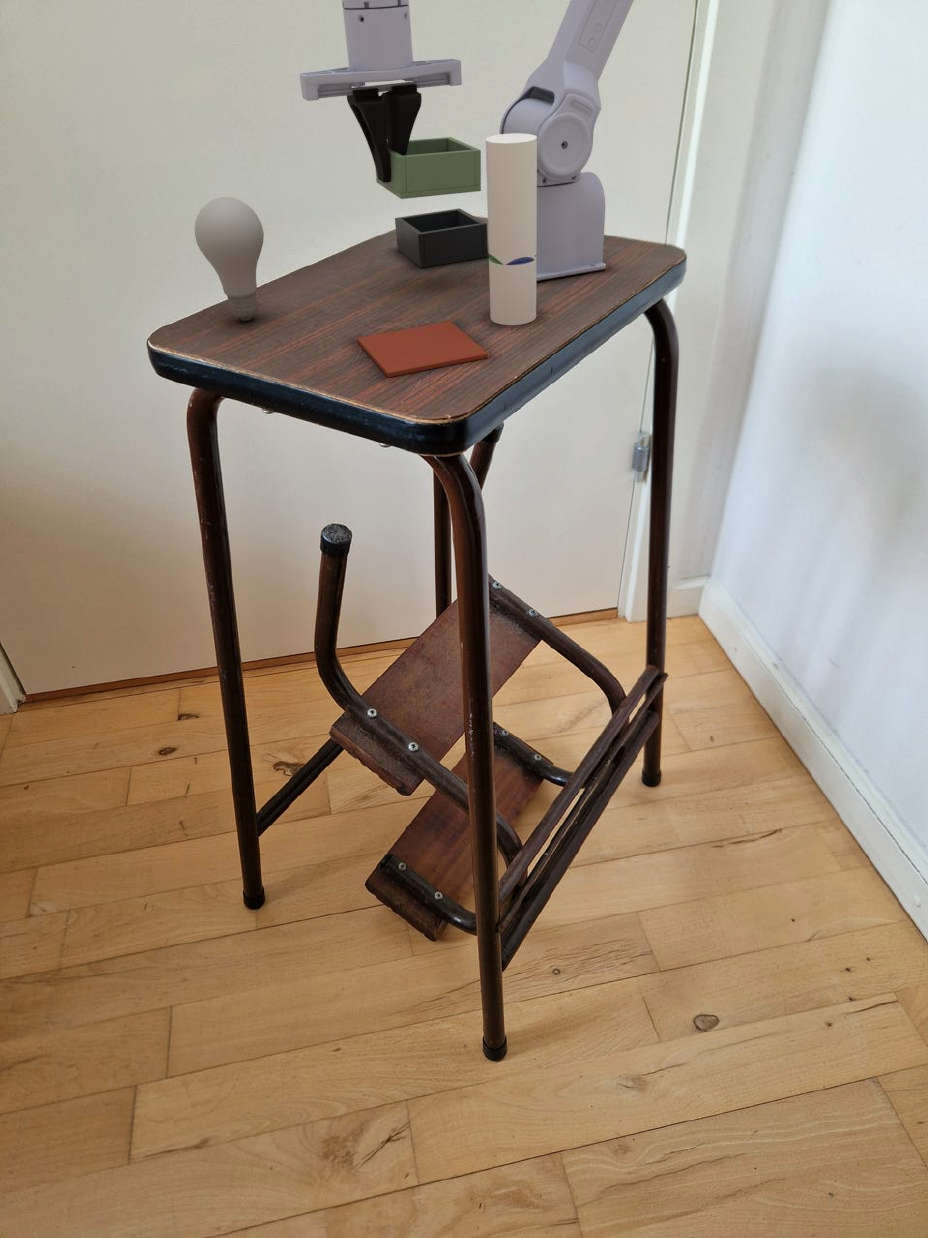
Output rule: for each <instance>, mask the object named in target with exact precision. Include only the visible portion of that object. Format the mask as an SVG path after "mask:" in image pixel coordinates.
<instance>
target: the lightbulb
mask: <svg viewBox="0 0 928 1238" xmlns="http://www.w3.org/2000/svg"><path fill="white" fill-rule="evenodd" d="M194 237H195V243H196V244H197V246H198V248H199V250H200V252H201V253H202V255H203V256H204V258H205V259H206V261H207V262H208V263H209V264H210V265H211V266H212V268H213V269H214V271H215V273H216V275H217V276H218V279H219V281H220V284H221V287H222V290H223V294H224V295H226V297H227V300H228V305H229V309H230V311H231V315H232V316H233V317H235V318H236V319H237V318H238V319H239V320H240V321H243V322H246V321H250V320H252V319H253V317H254V316H255V315H257V314H258V312H259V309H258V300H257V294H256V292H257V291H258V285H257V269H258V268H257V267H258V263H259V259H260V256H261V253H262V249H263V246H264V237H265V235H264V229H263V224H262V222H261V220H260V218H259V216H258V214H257V212H256V211H254V209H253V208H252V207H251V206H250V205H249V204H248V203H245V202H244V201H242V200H240V199H237V198H236V197H229V196H219V197H216V198H214V199H211V200H210V201H208V202H207V203H205V205H203V206H202V208H200V210H199V212H198V214H197V215H196V219H195V221H194Z"/></svg>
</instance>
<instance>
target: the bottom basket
mask: <svg viewBox="0 0 928 1238" xmlns="http://www.w3.org/2000/svg"><path fill="white" fill-rule="evenodd" d="M394 225H395V235H396V247H397V251H398V252H400V253H401V254H402V255H403V256H405V257H406V258H407V259H409V260H410V261H411V262H412V263H414V264H415V265H416V266H418V267H419V268H420V269H422V268H423V269H424V268H429V267H435V266H436V267H437V266H441V265H446V264H447V265H449V264H453V263H459V262H465V261H471V260H477V259H483V258H488V256H489V248H488V223H486V222H484V221H483V220H481V219H479V218H477V217H476V216H474V215H472V214H471V213H469V212H467V211H465V210H464V209H462V208H451V209H447V210H439V211H432V212H426V213H420V214H419V213H418V214H412V215H405V216H400V217H394Z"/></svg>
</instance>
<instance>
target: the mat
mask: <svg viewBox="0 0 928 1238" xmlns="http://www.w3.org/2000/svg"><path fill="white" fill-rule="evenodd" d="M356 340H357V344H359V346H360V347H361V348H362V349H363V351H364V352H365V353H366V354H367V355H368V356H369V357H370V358H371V359H372V361H373V362H374V363H375V364H376V365H377V367H379V369H380V370H381V371H382V372H383V374H384V375H385V376H386V377H387V378H394V377H397V376H403V375H408V374H412V373H417V372H422V371H427V370H433V369H438V368H443V367H448V366H452V365H458V364H463V363H467V362H472V361H477V360H482V359H487V358H489V357H488V356H489V353H488V352H487V351H486V350H484V349H483V348H482V346H480V345H479V344H478V343H477V342H475V341H474V340H473V339H472V338H471V337H469V335H467V334H466V333H465V332H464V331H462V330H461V329H460V328H459V327H458V326H457V325H455V324H454V323H453V322H452V321H450V320H447V321H442V322H436V323H431V324H425V325H421V326H415V327H410V328H404V329H399V330H398V329H397V330H393V331H388V332H383V333H377V334H371V335H366V336H361V337H357V338H356Z"/></svg>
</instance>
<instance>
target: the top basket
mask: <svg viewBox="0 0 928 1238" xmlns="http://www.w3.org/2000/svg"><path fill="white" fill-rule="evenodd" d="M388 151H389V159H390V167H391V182H387V183H383V182H382V181H380V180H379V179H378V176H377V171H376V170H375V177H376V178H375V180H376V181H375V182H376V183H377V184H378V185H379V186H381V187H383V188H384V189H386V190H387V191H388V192H390V193H392V194H393V195H394V196H396V197H398V198H399V199H400V200H405V199H416V198H417V199H418V198H427V197H437V196H445V195H446V196H447V195H455V194H465V193H477V192H481V191H482V150H481V149H479V148H477V147H474V146H472V145H470V144H468V143H466V142H463V141H461V140H458V139H457V138H454V137H452V136H446V137H444V136H443V137H435V138H434V137H433V138H421V139H410V140H409V144H408V149H407V154H406V155H405V156H402V155H400V154H399V153H397V152H395V151H393V150H391V149H390V148H388Z"/></svg>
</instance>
